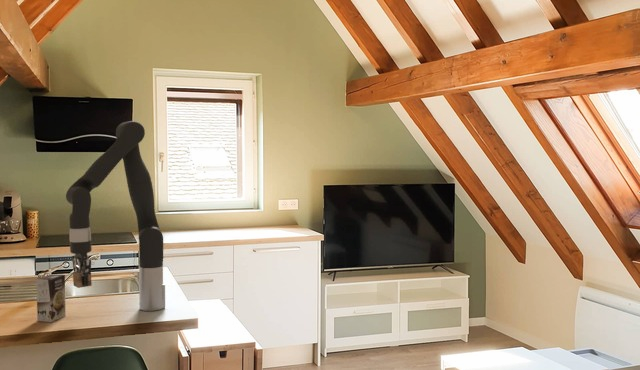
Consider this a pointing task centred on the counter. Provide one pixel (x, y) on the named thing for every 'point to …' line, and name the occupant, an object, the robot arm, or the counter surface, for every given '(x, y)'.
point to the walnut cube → (80, 280)
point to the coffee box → (50, 298)
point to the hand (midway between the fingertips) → (82, 284)
